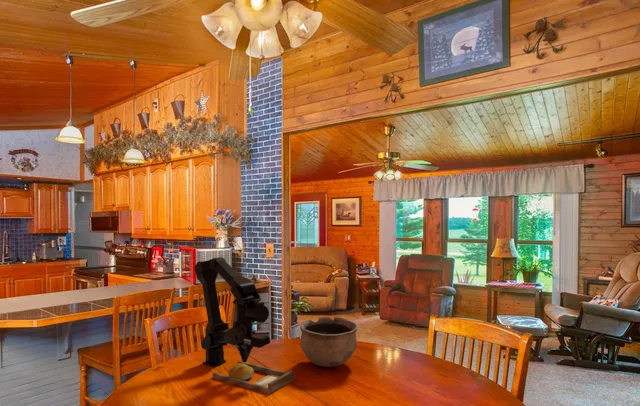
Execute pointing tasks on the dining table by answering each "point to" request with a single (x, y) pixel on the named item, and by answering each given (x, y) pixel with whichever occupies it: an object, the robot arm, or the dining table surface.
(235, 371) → the bread roll
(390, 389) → the dining table surface
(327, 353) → the ceramic bowl
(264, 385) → the brown open frame
